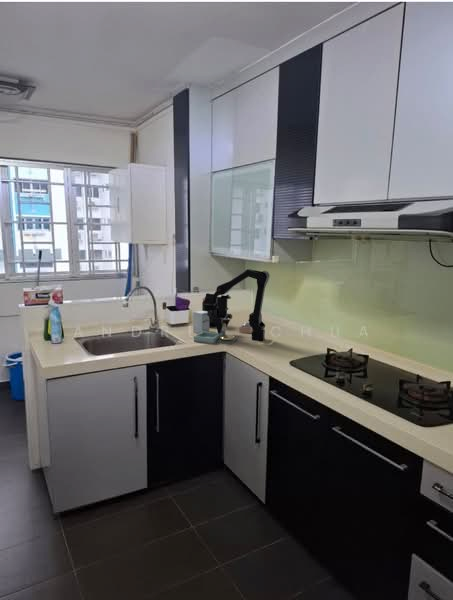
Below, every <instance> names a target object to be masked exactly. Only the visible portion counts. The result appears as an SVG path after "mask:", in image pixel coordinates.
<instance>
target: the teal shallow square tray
mask: <svg viewBox="0 0 453 600" xmlns="http://www.w3.org/2000/svg"><path fill="white" fill-rule="evenodd" d="M220 336H222V334H221V333H220V334H218V332H211V331H209V332H201V333H196V335H193V342H196V343H203V344H209V345H210V344H212V345H214V344H216V343H217V340H219V339H220Z"/></svg>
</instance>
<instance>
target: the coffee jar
mask: <svg viewBox="0 0 453 600" xmlns="http://www.w3.org/2000/svg"><path fill="white" fill-rule="evenodd" d="M204 299H205V297H202V299H201V300H202V303H201V304H202V305H201V308H202V310H201V311H207V312H208V311H210V310H212V311H215V310H216V308H217V304H216V305H205V303H204ZM217 303H218V302H217ZM213 317H215V316H213ZM211 318H212V317H210V318H209V328H215V327H216V325H215V324H214V323H213V322H211ZM216 328H217V327H216Z"/></svg>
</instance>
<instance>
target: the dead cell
mask: <svg viewBox="0 0 453 600" xmlns="http://www.w3.org/2000/svg"><path fill="white" fill-rule="evenodd" d="M243 324H244V327H247V328H250V325H249V322H247V321H246V322H243Z"/></svg>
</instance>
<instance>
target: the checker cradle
mask: <svg viewBox="0 0 453 600" xmlns="http://www.w3.org/2000/svg"><path fill="white" fill-rule="evenodd" d="M237 341H238V338H237V337H235V339H233V340H222V339H219V340H217V342H216V343H218V344H219V343H220V344H227V345H233V344H235V343H236V342H237Z"/></svg>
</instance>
